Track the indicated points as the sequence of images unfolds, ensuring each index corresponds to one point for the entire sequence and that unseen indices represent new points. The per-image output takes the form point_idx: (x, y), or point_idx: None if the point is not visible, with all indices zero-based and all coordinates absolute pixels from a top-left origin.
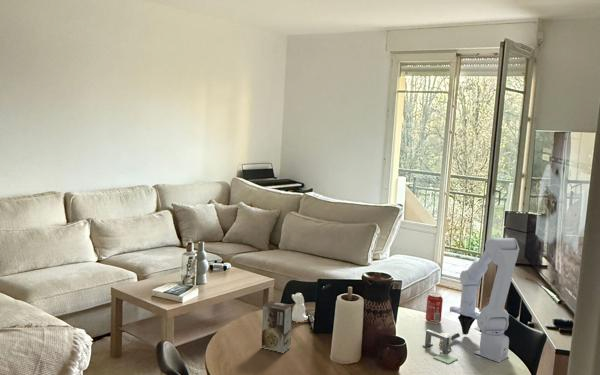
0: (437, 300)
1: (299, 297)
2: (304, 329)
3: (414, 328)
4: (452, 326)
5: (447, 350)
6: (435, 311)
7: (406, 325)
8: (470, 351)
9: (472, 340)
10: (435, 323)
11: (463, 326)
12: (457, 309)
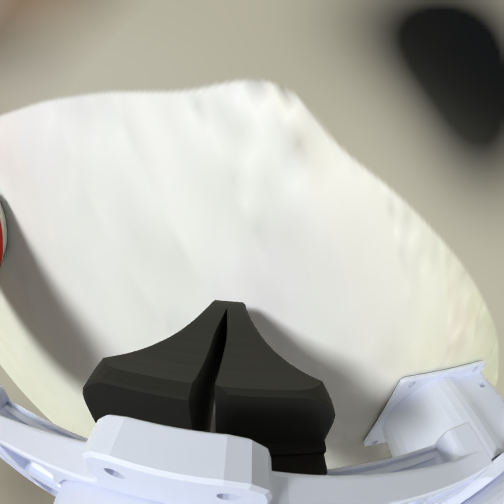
0: None
1: None
2: None
3: (30, 373)
4: (60, 182)
5: None
6: None
7: (5, 360)
8: (342, 438)
9: (307, 333)
10: (4, 248)
11: (214, 401)
12: (40, 471)
